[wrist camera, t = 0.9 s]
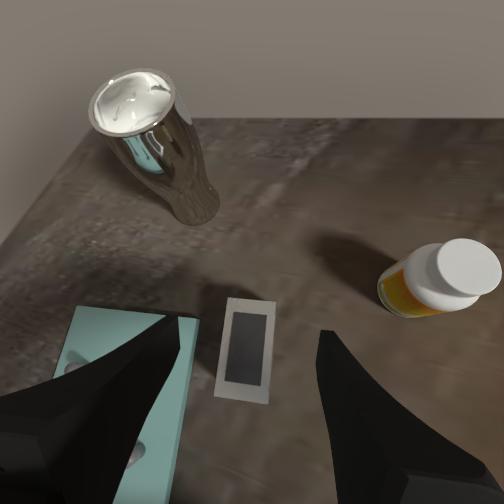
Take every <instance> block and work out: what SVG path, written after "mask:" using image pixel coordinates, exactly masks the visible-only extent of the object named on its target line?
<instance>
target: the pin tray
mask: <svg viewBox="0 0 504 504" xmlns="http://www.w3.org/2000/svg"><path fill="white" fill-rule="evenodd" d="M165 316H166V315H159V314H150V313H141V312H132V311H123V310H113V309H104V308H95V307H86V306H77V307H76V310H75V313H74V316H73V319H72V322H71V325H70V328H69V331H68V334H67V338H66V341H65V344H64V347H63V350H62V353H61V356H60V359H59V362H58V365H57V368H56V371H55V374H54V377H53V379H54V378H56V377H59V376H61V375H64V374H66V373H68V372H71V371H73V370H75V369H77V368H79V367H82V366H84V365H86V364H88V363H90V362H92V361H94V360H96V359H98V358H100V357H102V356H104V355H106V354H107V353H109V352H111V351H113V350H114V349H116V348H118V347H119V346H121V345H122V344H124V343H126V342H127V341H129V340H131V339H132V338H134V337H135V336H137V335H138V334H140V333H141V332H143V331H144V330H146V329H147V328H148V327H150V326H151V325H153V324H154V323H156V322H157V321H159V320H160V319H161V318H163V317H165ZM178 322H179V335H180V348H181V349H180V351H179V354H178V357H177V359H176V362H175V364H174V367H173V369H172V371H171V373H170V375H169V377H168V379H167V380H166V382H165V384H164V386H163V388H162V390H161V392H160V393H159V395H158V397H157V399H156V401H155V403H154V405H153V406H152V408H151V410H150V412H149V414H148V416H147V418H146V421H145V423H144V425H143V428H142V430H141V432H140V435H139V437H138V439H137V442H136V444H135V447H134V449H133V452H132V454H131V457H130V459H129V462H128V464H127V467H126V469H125V472H124V475H123V477H122V480H121V483H120V485H119V488H118V490H117V493H116V496H115V499H114V501H113V504H169V499H170V493H171V487H172V481H173V475H174V470H175V464H176V458H177V452H178V446H179V440H180V434H181V429H182V423H183V417H184V411H185V405H186V399H187V393H188V388H189V382H190V376H191V370H192V364H193V358H194V352H195V347H196V341H197V335H198V329H199V323H200V319H195V318H186V317H178Z"/></svg>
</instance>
